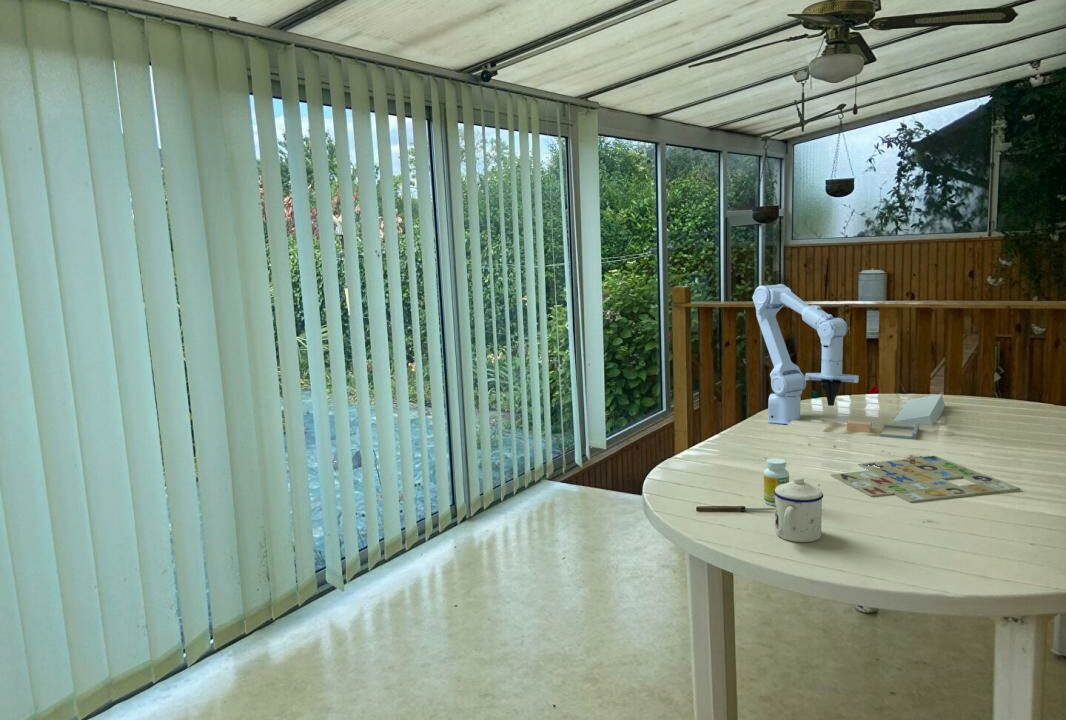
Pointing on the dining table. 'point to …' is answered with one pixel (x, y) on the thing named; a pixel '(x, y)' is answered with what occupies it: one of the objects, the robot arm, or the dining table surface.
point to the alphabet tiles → (921, 480)
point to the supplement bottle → (774, 478)
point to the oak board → (843, 429)
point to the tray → (913, 437)
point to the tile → (859, 425)
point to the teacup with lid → (798, 511)
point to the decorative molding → (921, 410)
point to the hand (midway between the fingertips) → (831, 405)
